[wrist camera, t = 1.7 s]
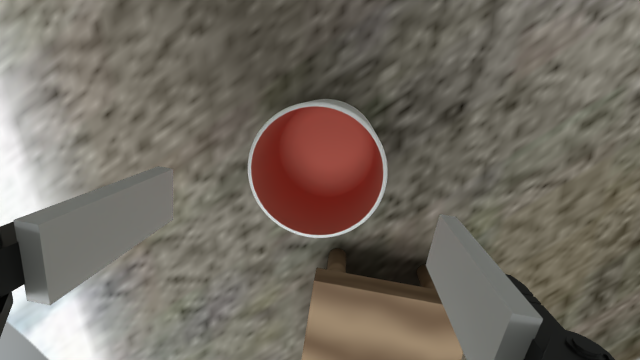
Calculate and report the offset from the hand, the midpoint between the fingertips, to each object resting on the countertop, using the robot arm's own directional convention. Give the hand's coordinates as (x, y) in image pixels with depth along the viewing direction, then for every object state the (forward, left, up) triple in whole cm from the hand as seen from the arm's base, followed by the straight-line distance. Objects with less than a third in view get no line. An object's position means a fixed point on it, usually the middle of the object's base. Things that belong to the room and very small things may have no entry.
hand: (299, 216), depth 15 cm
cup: (0, 0, -17) cm, 17 cm away
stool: (+17, +8, -17) cm, 25 cm away
